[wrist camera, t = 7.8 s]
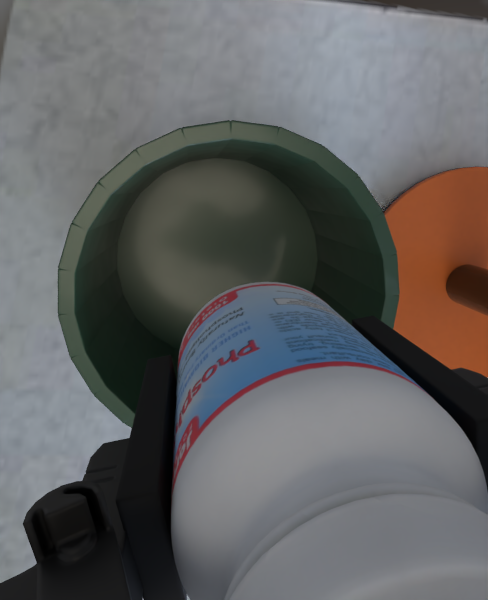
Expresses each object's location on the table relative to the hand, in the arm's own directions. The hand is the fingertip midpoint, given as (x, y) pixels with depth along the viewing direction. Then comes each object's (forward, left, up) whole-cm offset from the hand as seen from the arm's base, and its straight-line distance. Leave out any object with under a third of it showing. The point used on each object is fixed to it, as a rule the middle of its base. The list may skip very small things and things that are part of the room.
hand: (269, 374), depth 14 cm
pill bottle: (0, 0, -2) cm, 2 cm away
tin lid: (-19, +4, -19) cm, 27 cm away
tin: (0, -1, -19) cm, 19 cm away
